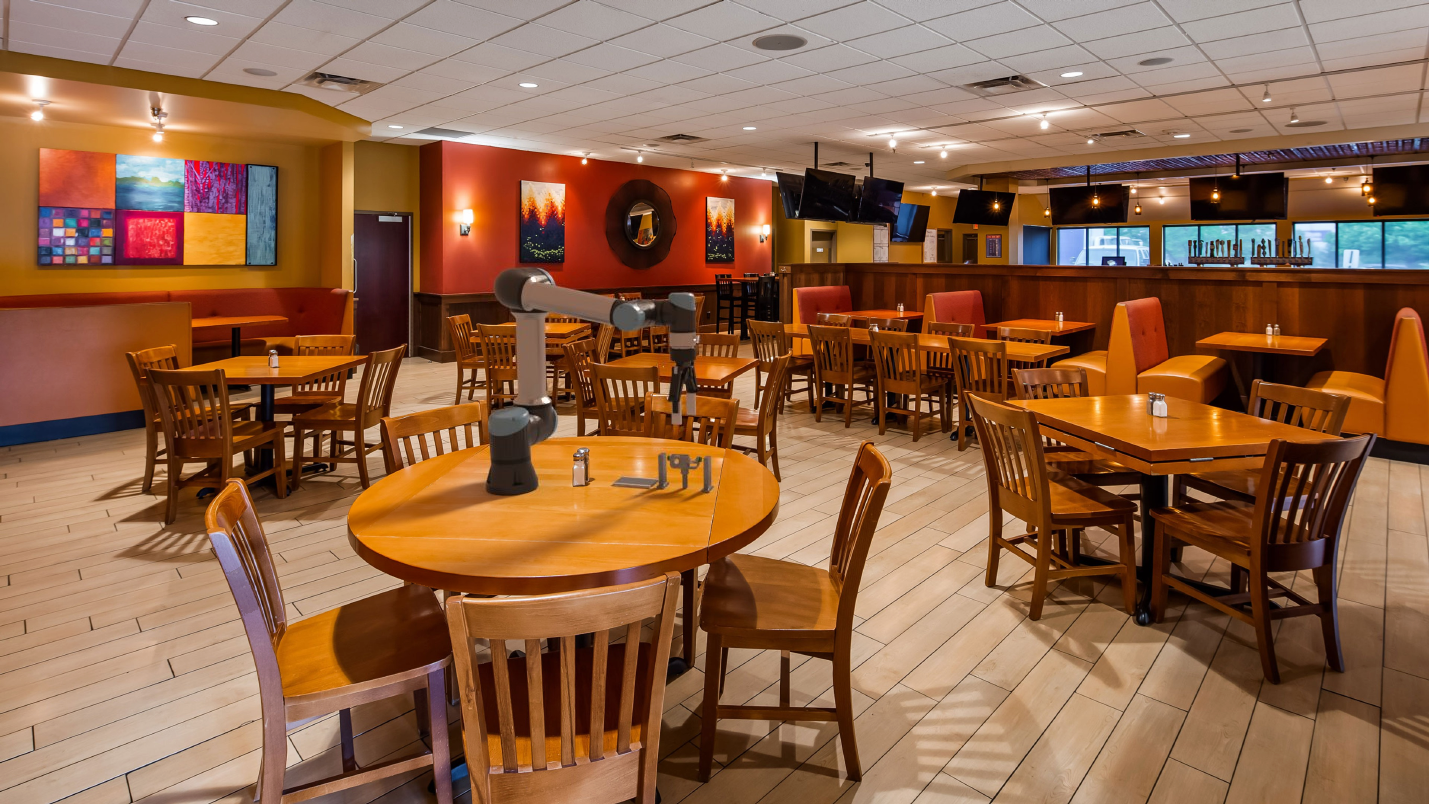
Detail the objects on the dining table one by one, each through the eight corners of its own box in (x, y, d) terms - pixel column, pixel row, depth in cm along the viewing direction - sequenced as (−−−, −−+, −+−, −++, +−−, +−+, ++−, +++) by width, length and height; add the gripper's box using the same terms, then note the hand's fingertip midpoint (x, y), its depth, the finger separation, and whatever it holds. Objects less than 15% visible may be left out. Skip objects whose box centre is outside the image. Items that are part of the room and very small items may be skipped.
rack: (656, 488, 231) (655, 455, 229) (661, 483, 236) (661, 451, 234) (709, 492, 226) (708, 459, 224) (713, 487, 231) (713, 455, 229)
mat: (612, 485, 234) (612, 483, 234) (622, 478, 242) (622, 476, 242) (649, 488, 231) (649, 486, 231) (659, 480, 238) (659, 478, 238)
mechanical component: (700, 490, 228) (700, 457, 227) (667, 488, 231) (666, 455, 229) (702, 487, 231) (702, 454, 229) (669, 485, 233) (669, 453, 232)
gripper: (681, 352, 210) (683, 429, 214) (707, 342, 234) (708, 411, 238) (655, 351, 212) (657, 427, 216) (684, 342, 236) (685, 410, 240)
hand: (684, 419), depth 227 cm, fingers open, 13 cm apart
